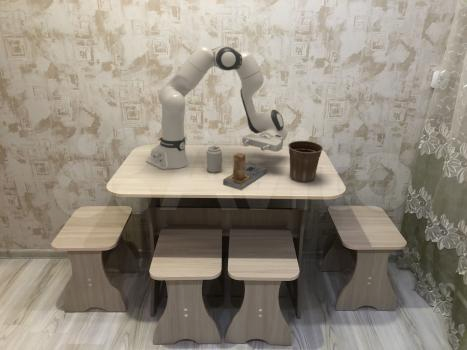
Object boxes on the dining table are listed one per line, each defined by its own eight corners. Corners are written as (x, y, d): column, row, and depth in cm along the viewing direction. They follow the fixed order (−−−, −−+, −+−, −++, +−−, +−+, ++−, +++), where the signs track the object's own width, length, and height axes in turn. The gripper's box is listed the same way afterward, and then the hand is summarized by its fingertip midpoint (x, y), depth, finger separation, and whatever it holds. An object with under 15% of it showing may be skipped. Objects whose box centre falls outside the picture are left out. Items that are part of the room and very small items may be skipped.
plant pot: (324, 183, 186) (328, 151, 180) (291, 185, 184) (293, 153, 177) (312, 170, 201) (316, 140, 194) (282, 171, 199) (284, 141, 192)
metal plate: (223, 184, 183) (223, 179, 182) (249, 168, 202) (250, 163, 201) (241, 189, 178) (241, 184, 177) (266, 172, 197) (267, 167, 196)
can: (223, 168, 201) (224, 146, 196) (218, 174, 194) (218, 151, 189) (210, 166, 203) (210, 144, 198) (204, 172, 196) (204, 149, 191)
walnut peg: (233, 182, 185) (233, 155, 179) (237, 180, 188) (238, 152, 183) (240, 185, 183) (241, 156, 178) (244, 182, 186) (245, 154, 181)
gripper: (250, 129, 204) (236, 136, 194) (286, 137, 194) (272, 145, 184) (249, 141, 207) (235, 148, 196) (284, 150, 197) (271, 157, 186)
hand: (253, 146), depth 190 cm, fingers open, 8 cm apart
